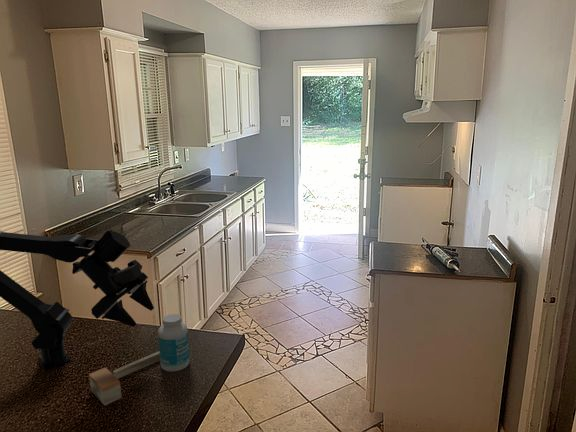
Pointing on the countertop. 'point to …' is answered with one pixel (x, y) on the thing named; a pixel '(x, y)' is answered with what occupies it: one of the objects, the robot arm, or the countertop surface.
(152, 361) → the rail
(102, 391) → the block
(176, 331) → the pill bottle
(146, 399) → the countertop surface
